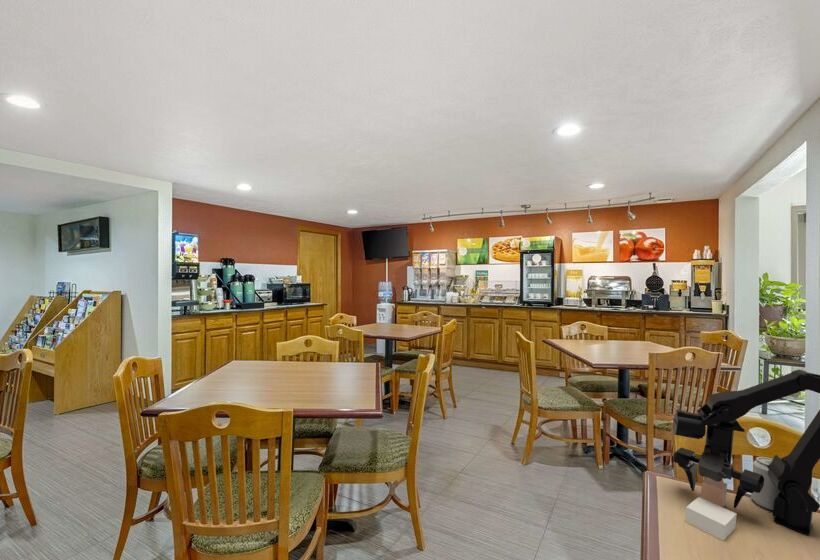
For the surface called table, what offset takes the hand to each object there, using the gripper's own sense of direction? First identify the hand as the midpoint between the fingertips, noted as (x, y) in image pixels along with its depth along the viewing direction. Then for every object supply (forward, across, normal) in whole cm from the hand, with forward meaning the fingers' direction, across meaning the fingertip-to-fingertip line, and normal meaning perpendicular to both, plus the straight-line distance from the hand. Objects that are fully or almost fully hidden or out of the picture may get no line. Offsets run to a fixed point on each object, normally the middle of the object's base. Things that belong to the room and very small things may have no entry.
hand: (713, 498), depth 107 cm
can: (+2, +10, +12) cm, 16 cm away
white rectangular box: (+2, +2, -11) cm, 11 cm away
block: (+2, 0, 0) cm, 2 cm away
